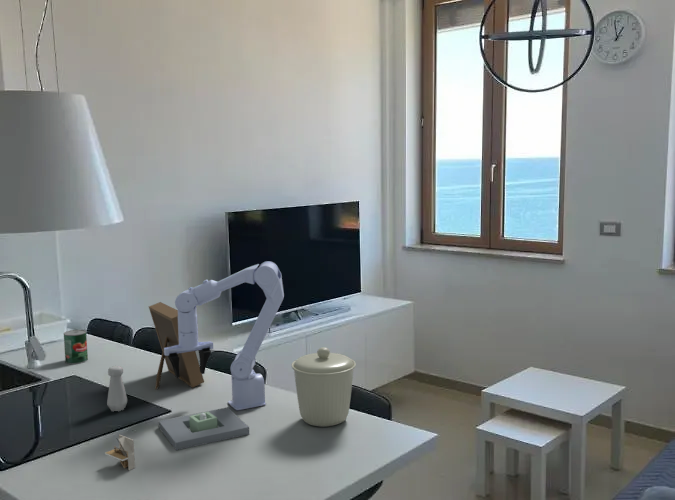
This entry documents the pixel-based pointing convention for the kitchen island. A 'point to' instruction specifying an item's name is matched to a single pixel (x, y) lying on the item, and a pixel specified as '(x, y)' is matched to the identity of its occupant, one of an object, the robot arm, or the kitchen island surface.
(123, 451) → the architectural model
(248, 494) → the kitchen island surface
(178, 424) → the slotted base plate
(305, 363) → the canister
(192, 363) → the photo frame
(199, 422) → the hollow block
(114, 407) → the salt shaker
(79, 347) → the canned tomato
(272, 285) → the robot arm
